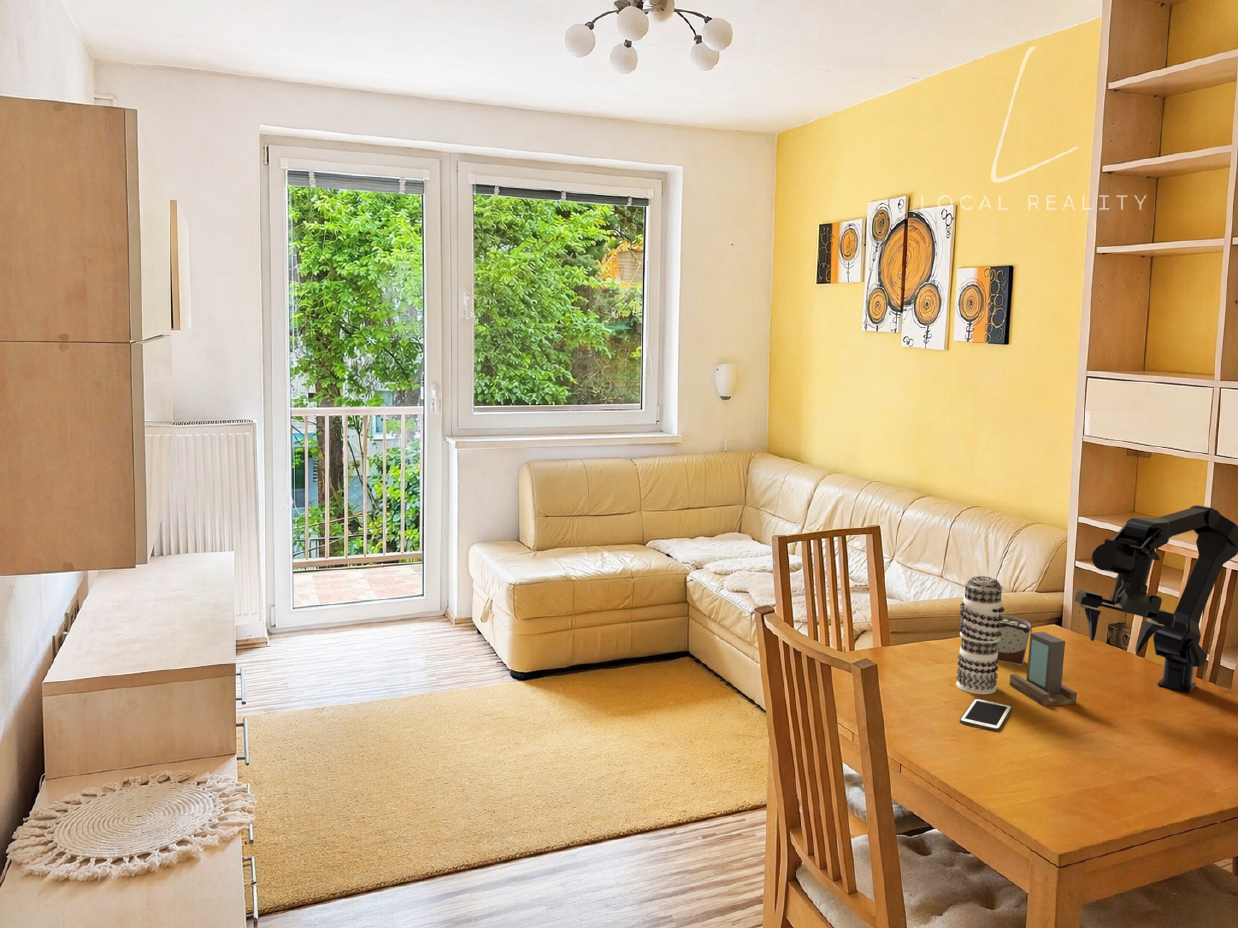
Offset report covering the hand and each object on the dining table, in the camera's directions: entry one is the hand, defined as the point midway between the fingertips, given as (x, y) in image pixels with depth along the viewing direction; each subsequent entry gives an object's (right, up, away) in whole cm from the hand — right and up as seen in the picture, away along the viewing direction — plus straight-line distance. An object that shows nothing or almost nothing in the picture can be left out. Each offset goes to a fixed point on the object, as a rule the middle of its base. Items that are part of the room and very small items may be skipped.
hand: (1114, 646), depth 202 cm
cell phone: (-31, -13, -8) cm, 35 cm away
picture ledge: (-14, -11, +4) cm, 18 cm away
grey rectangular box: (-14, -10, +4) cm, 18 cm away
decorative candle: (-27, -11, +7) cm, 30 cm away
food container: (-13, -8, +27) cm, 31 cm away
